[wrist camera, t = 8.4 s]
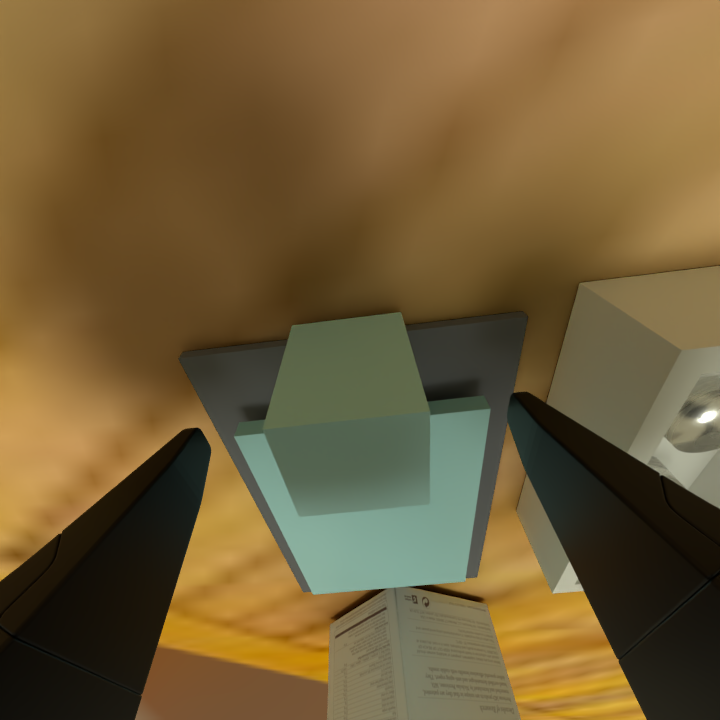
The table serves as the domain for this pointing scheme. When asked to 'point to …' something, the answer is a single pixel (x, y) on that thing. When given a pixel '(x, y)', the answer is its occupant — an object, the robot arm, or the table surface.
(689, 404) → the grey metal round knob
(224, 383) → the mat
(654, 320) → the tub
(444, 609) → the supplement box
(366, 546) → the lid
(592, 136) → the table surface
